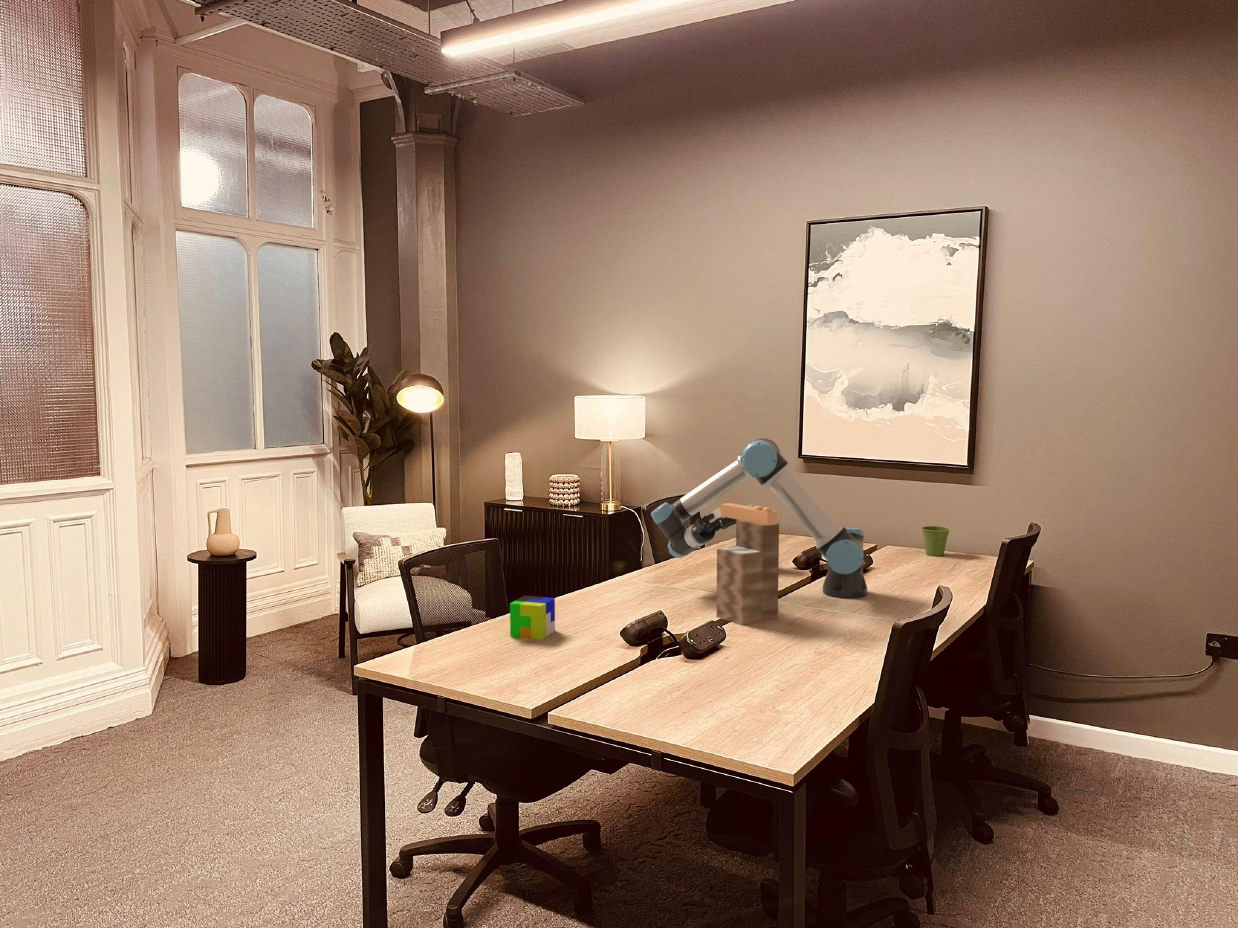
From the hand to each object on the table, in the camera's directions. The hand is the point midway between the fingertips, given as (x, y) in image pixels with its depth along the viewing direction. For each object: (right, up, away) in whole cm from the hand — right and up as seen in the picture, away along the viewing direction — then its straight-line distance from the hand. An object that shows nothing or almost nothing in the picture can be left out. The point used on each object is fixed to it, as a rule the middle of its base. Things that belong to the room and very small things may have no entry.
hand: (737, 508), depth 298 cm
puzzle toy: (-64, -36, -23) cm, 77 cm away
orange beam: (+3, -3, -4) cm, 6 cm away
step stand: (+3, -34, -6) cm, 34 cm away
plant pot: (+94, -24, +89) cm, 132 cm away
